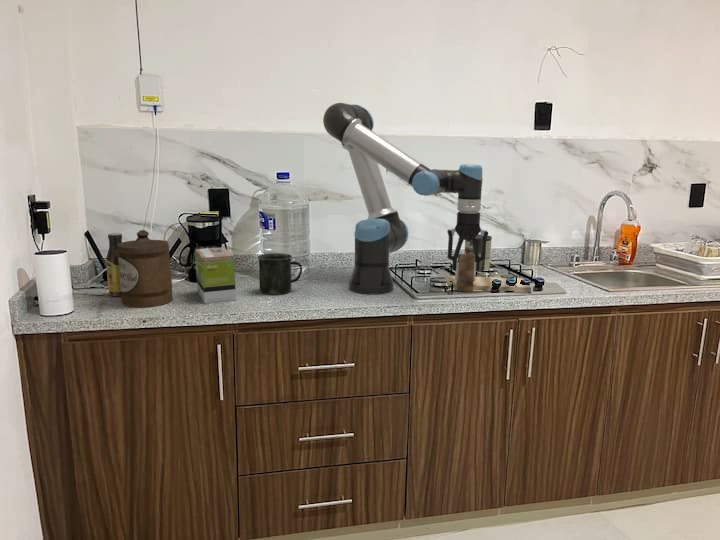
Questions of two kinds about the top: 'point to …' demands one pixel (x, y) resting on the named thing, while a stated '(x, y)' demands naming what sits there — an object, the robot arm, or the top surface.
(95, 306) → the top surface
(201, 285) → the tea box
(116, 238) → the sauce bottle
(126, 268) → the wooden container
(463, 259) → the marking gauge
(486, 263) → the coffee can
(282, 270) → the mug
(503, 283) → the birch board
